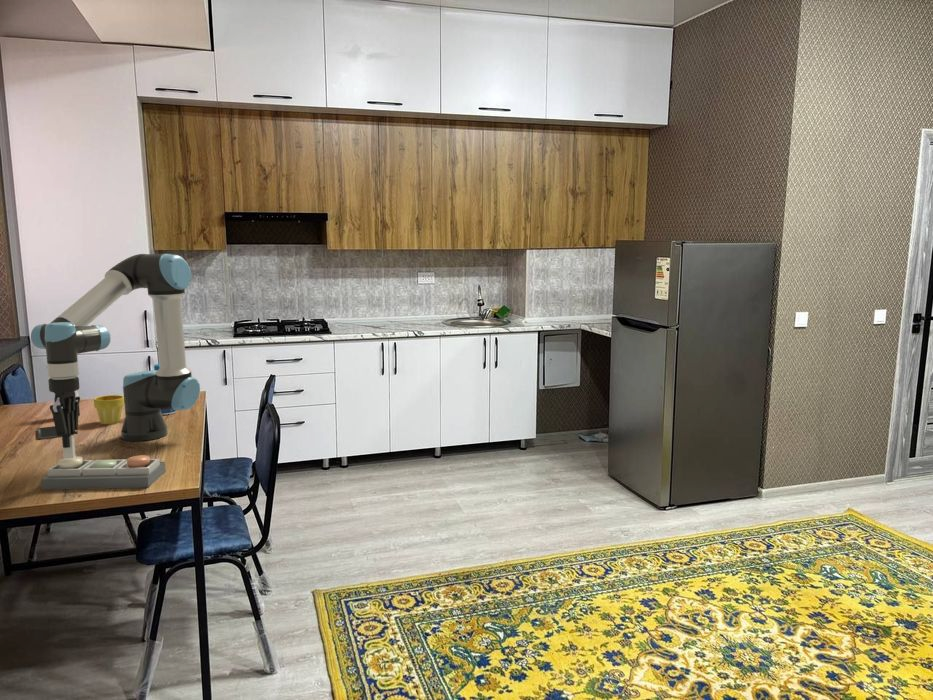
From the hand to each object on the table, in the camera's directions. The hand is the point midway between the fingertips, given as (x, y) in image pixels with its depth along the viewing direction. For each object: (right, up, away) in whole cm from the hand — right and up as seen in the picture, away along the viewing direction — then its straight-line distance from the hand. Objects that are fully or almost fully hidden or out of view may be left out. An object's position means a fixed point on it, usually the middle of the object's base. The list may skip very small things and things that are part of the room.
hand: (69, 457), depth 201 cm
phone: (-36, 0, +51) cm, 63 cm away
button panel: (+9, -7, +2) cm, 12 cm away
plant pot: (-22, +3, +67) cm, 71 cm away
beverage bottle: (-7, +5, +82) cm, 83 cm away
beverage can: (-42, +4, +74) cm, 85 cm away
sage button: (+9, -4, +2) cm, 10 cm away
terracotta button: (+19, -2, +2) cm, 19 cm away
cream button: (0, -3, +1) cm, 3 cm away
